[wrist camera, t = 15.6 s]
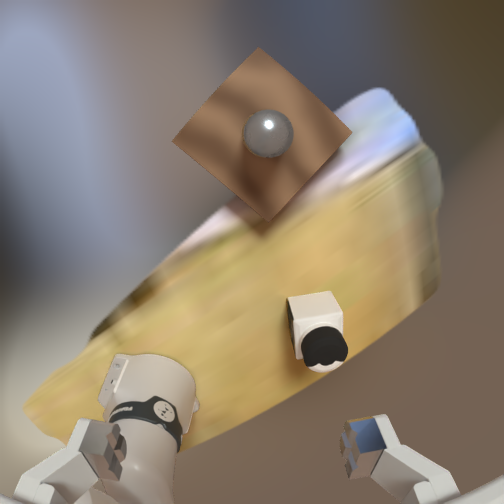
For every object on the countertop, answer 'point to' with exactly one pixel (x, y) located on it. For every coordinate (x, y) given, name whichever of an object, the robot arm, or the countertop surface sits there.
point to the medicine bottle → (317, 330)
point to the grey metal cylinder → (267, 133)
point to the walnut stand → (231, 144)
